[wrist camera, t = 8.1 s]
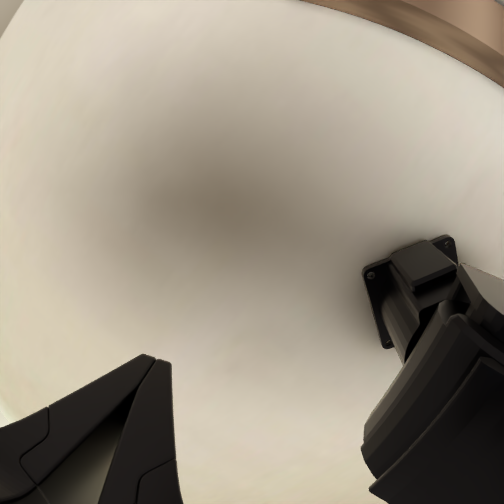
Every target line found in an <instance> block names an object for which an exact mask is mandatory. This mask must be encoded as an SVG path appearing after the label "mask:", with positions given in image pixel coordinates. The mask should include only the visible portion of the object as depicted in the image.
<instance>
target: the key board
mask: <svg viewBox="0 0 504 504" xmlns="http://www.w3.org/2000/svg"><path fill="white" fill-rule="evenodd" d="M301 1H305V2H309V3H314V4H317V5H321V6H325V7H329V8H332V9H336V10H339V11H342V12H346V13H349V14H352V15H355V16H358V17H361V18H364V19H367V20H370V21H373V22H375V23H378V24H381V25H383V26H386V27H389V28H391V29H394V30H396V31H398V32H401V33H403V34H406V35H408V36H410V37H413V38H415V39H417V40H419V41H421V42H424V43H426V44H428V45H430V46H432V47H434V48H436V49H438V50H440V51H442V52H444V53H446V54H448V55H450V56H452V57H454V58H455V59H457V60H459V61H461V62H463V63H465V64H466V65H468V66H470V67H472V68H473V69H475V70H477V71H478V72H480V73H482V74H483V75H485V76H486V77H488V78H490V79H491V80H493V81H494V82H496V83H497V84H499V85H500V86H502V87H503V88H504V7H503V6H502V5H500V4H499V3H497V2H496V1H494V0H301Z"/></svg>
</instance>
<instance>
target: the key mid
mask: <svg viewBox="0 0 504 504" xmlns="http://www.w3.org/2000/svg"><path fill="white" fill-rule="evenodd" d="M494 1H496V2H497V3H499V4H500V5H502V6H503V7H504V0H494Z"/></svg>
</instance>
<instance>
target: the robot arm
mask: <svg viewBox="0 0 504 504" xmlns="http://www.w3.org/2000/svg"><path fill="white" fill-rule="evenodd" d="M447 241H449V244H448V245H447V246H445V243H446V242H447ZM369 272H373V275H372V276H371V277H368V276H367V275H368V273H369ZM362 277H363V280H364V284H365V287H366V290H367V294H368V297H369V301H370V304H371V308H372V311H373V315H374V319H375V322H376V326H377V330H378V334H379V337H380V341H381V344H382V347H383V348H385V349H390V348H393V347H395V348H396V350H397V353H398V355H399V357H400V359H401V362H402V364H403V367H402V369H401V370H400V372H399V374H398V375H397V377H396V378H395V380H394V381H393V383H392V384H391V386H390V387H389V389H388V390H387V392H386V393H385V395H384V396H383V397H382V399H381V400H380V402H379V403H378V404H377V406H376V407H375V409H374V410H373V411H372V413H371V414H370V416H369V418H368V420H367V422H366V423H365V426H364V439H363V440H364V443H363V445H362V446H361V452H362V455H363V458H364V461H365V463H366V464H367V466H368V468H369V469H370V471H371V473H372V474H373V476H374V477H375V478H376V479H377V480H376V481H375V482H374V483H373V484H372V485H371V486H370V487H369V491H370V492H371V493H372V494H374V495H376V496H377V497H379V498H381V499H382V500H384V501H386V502H387V503H388V504H504V280H503V279H500V278H498V277H495V276H493V275H490V274H488V273H486V272H483V271H481V270H478V269H476V268H473V267H471V266H468V265H466V264H463V263H461V264H460V266H458V259H457V253H456V247H455V241H454V239H453V238H452V237H450V236H449V235H444V236H442V237H439V238H437V239H434V240H432V241H430V242H429V241H427V240H425V241H422V242H420V243H418V244H415V245H413V246H410V247H408V248H405V249H403V250H400V251H397V252H395V253H393V254H392V255H391V256H390V258H387V259H385V260H382V261H379V262H377V263H374V264H372V265H369V266H367V267H365V268H364V269H363V271H362ZM388 340H390V342H388V343H386V342H387V341H388ZM0 504H183V500H182V496H181V492H180V486H179V479H178V471H177V461H176V448H175V434H174V417H173V395H172V365H171V363H170V362H168V361H164V360H161V359H157V360H156V358H155V357H152V356H149V355H146V354H141V355H139V356H137V357H135V358H134V359H132V360H130V361H128V362H127V363H125V364H123V365H121V366H120V367H118V368H116V369H114V370H113V371H111V372H109V373H107V374H105V375H104V376H102V377H100V378H98V379H97V380H95V381H93V382H91V383H89V384H88V385H86V386H84V387H82V388H80V389H78V390H77V391H75V392H73V393H71V394H69V395H67V396H66V397H64V398H62V399H60V400H58V401H56V402H55V403H53V404H51V405H49V408H48V407H45V408H43V409H41V410H39V411H38V412H36V413H34V414H31V415H29V416H27V417H25V418H23V419H21V420H19V421H16V422H14V423H11V424H9V425H7V426H4V427H1V428H0Z"/></svg>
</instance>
